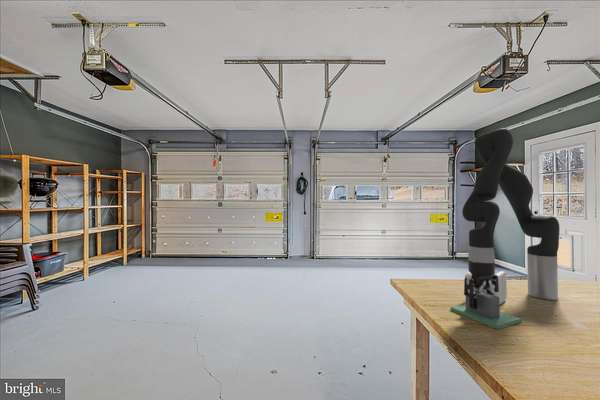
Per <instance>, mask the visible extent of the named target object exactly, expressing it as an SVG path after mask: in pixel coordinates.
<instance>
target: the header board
mask: <svg viewBox="0 0 600 400" xmlns="http://www.w3.org/2000/svg"><path fill="white" fill-rule="evenodd" d="M450 311H451V312H454V313H457V314H458V315H461V316H464V317H466V318H469V319H471V320H473V321H476V322H478V323H481V324H483V325H486V326H489V327H490V328H493V329H495V330H500V329H503V328H506V327H510V326H513V325H516V324H521V323H522V318H521V317H518V316H514V315H512V314H509V313H507V312H502V311H500V317H497V318H493V319H490V318H487V317H485V316H482V315H479V314H477V313H474V312H472V311H469V310H466V303H464V304H458V305H454V306H450Z"/></svg>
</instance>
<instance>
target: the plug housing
mask: <svg viewBox="0 0 600 400" xmlns="http://www.w3.org/2000/svg"><path fill="white" fill-rule="evenodd" d="M469 291H470V290H468V293H469ZM473 294H475V292H474V293H473ZM476 299H477V309H476V310H474V309H471V308H470V306H469V297H468V296H465V304H466V310H469V311H472V312H474V313H477V314H479V315H482V316H485V317H487V318H490V319H493V318H497V317H500V312H501V310H500V305H499V297H497V296H494V295H491V294H487V293H484V292H481V293H479V294H478V297H477V298H476Z"/></svg>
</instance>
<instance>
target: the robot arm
mask: <svg viewBox="0 0 600 400" xmlns="http://www.w3.org/2000/svg"><path fill="white" fill-rule="evenodd" d="M513 144H514V138H513V135H512V133H511V131H510V130H509V129H508V128H505V127H502V128H497V129H494V130H491V131H489V132H485V133H482V134H480V135H477V136H476V137H475V139H474V146H475V149H476V152H477V153H478V155H479V156H480V157H481V160H483V162H484V163H485V165H484V166H483V167H482V168H481V169H480V171H479V172H478V173H477V175H476V177H475V181H474V185H473V190H472V191H471V193H470V195H469V197H468V198H467V199H466V201H465V203H464V205H463V206H462V210H461V211H462V216H463V218H464V219H465V221H467V222H471V223H485V224H484V225H483V227H479V228H472V229H470V230H469V231H468V251H467V252H468V253H467V254H468V255H467V256H468V258H467V259H468V263H467V264H468V272H470V273H471V274H472V277H471V278H470V279H469V278H465V277H464V281H463V282H464V283H463V284H464V286H463V287H464V289H463V294H464V297H466V296H468V297H469V306H470V308H471V309H474V310H476V309H477V299H476V298H477V297H478V294H479V293H481V291H482V290H484V289H485V291H486V292H487V294H491V295H495V292H498V291H499V286H498V276H497V275H495V274H496V269H495V267H496V265H495V264H496V263H495V260H496V259H495V258H496V257H495V256H496V255H495V248H494V246H495V245H494V234H495V229H496V226H497V222H498V220H499V217H500V213H501V211H500V210H501V209H500V207H499V205H498V204H497V203H496V202H494V201H492V200H494V199H495V198H496V197H497V194H498V189H499V187H500V190H501V191H502V193H503V194H504V196H505V197H506V199H507V201H508V202H509V204H510V207H511V208H512V211H513V213H514V215H515V216H516V219H517V221H518V224H519V226H520V228H521V230H522V232H523V233H524V235H526V236H528V237H531V238H537V239H540V242H539V243H537V244H534V245H529V246H527V249H526V250H527V251H526V254H527V255H526V257H527V261H526V262H527V294H528V295H529V296H530V297H533V298H537V299H542V300H547V301H557V300H558V299H559V289H558V288H559V286H558V281H559V280H558V279H559V277H558V252H559V247H560V244H559V243H560V229H561V227H560V223H559V220H558V219H557V218H556V217H554V216H551V215H535V214H534V213H533V212H532V210H531V208H530V203H531V200H532V197H533V195H534V188H533V186H532V184H531V182H530V180H529V178H528V177H527V175H526V174H525V173H524V172H522V171H521V170H520V169H517V168H515V167H514V166H512V165H510V164H508V163H507V161H508V158H509V156H510V153H512V152H511V151H512V148H513ZM493 285H495V288H494V287H493ZM474 287H475V288H476V289H474ZM468 289H469V290H470V291H469V293H468ZM474 292H475V294H473V293H474Z"/></svg>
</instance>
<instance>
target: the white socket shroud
mask: <svg viewBox="0 0 600 400" xmlns="http://www.w3.org/2000/svg"><path fill="white" fill-rule="evenodd" d="M494 275H497V276H498V286H499V291H498V292H495V295H494V296H497V297H499V306H501V304H503V303H504V302H505V301H506V299H507V295H508V291H507V290H508V289H507V288H508V287H507V285H508V283H507V272H506V271H504V270H503V271H502V270H501V271H498V272H497V273H495V274H494ZM471 277H472V274H471V273H470V272H469V271H468V272H466V274H465V275H464V279H465V278H469V279H470V278H471ZM493 287H494V288H495V285H493ZM474 289H476V288H475V287H474ZM468 290H469V289H468ZM481 292H484V293H487V292H486V291H485V289H484V290H482V291H481Z"/></svg>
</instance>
